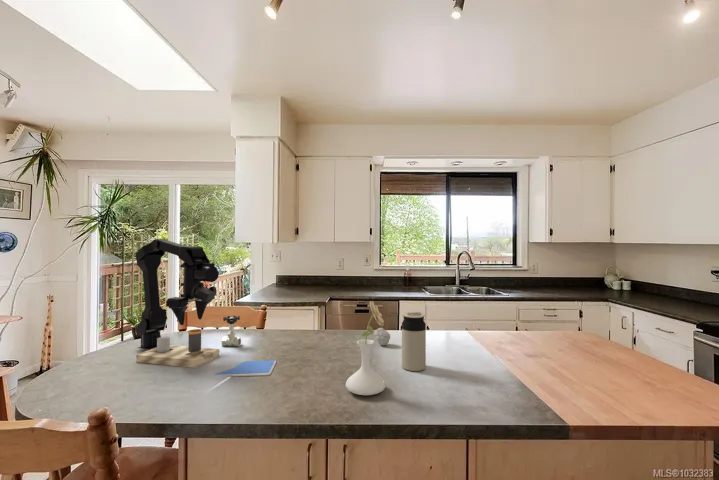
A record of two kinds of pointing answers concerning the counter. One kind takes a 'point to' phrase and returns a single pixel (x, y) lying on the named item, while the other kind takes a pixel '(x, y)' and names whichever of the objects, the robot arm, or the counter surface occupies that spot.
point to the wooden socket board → (178, 356)
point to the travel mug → (413, 341)
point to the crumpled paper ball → (382, 336)
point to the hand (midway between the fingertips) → (191, 322)
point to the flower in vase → (367, 364)
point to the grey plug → (163, 344)
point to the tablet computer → (251, 368)
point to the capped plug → (194, 340)
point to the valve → (231, 333)
